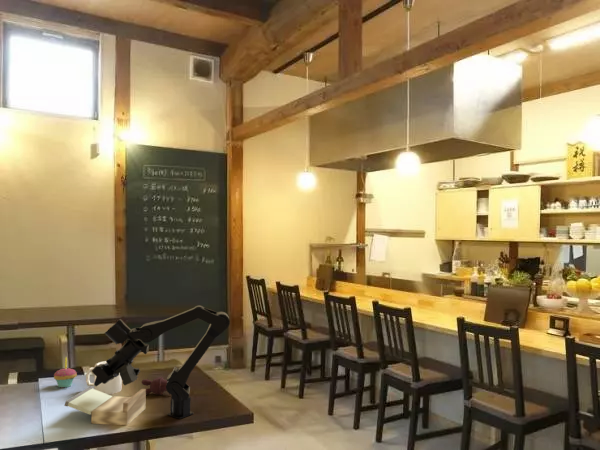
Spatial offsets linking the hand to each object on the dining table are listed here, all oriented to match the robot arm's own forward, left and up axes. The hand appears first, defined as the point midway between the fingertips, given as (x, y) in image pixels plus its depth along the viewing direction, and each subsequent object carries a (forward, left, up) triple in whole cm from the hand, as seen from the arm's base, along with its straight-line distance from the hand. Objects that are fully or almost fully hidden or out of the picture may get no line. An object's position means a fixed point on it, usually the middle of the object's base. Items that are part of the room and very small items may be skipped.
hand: (95, 385), depth 172 cm
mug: (+22, -20, -10) cm, 31 cm away
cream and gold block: (-7, -5, -10) cm, 13 cm away
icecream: (+1, -29, -10) cm, 31 cm away
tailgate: (-2, -2, -6) cm, 7 cm away
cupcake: (+40, -14, -10) cm, 43 cm away
